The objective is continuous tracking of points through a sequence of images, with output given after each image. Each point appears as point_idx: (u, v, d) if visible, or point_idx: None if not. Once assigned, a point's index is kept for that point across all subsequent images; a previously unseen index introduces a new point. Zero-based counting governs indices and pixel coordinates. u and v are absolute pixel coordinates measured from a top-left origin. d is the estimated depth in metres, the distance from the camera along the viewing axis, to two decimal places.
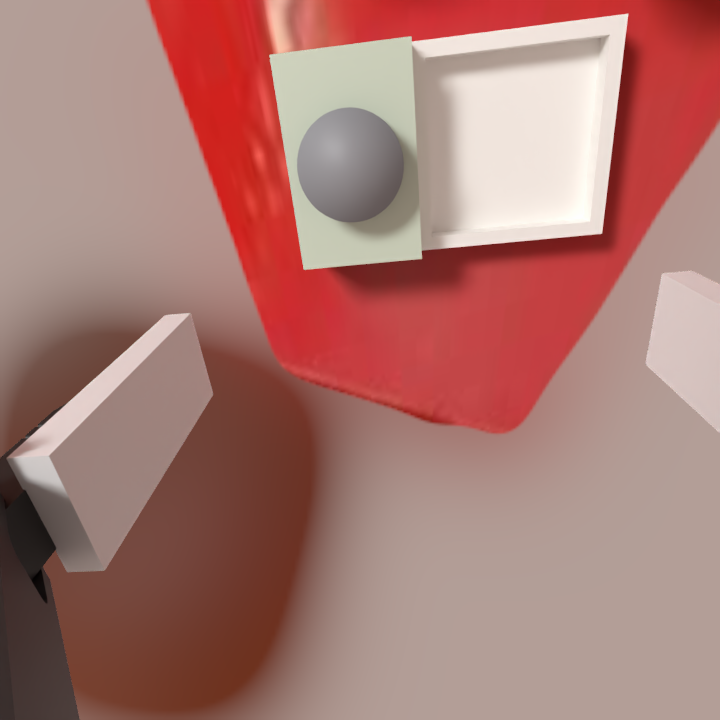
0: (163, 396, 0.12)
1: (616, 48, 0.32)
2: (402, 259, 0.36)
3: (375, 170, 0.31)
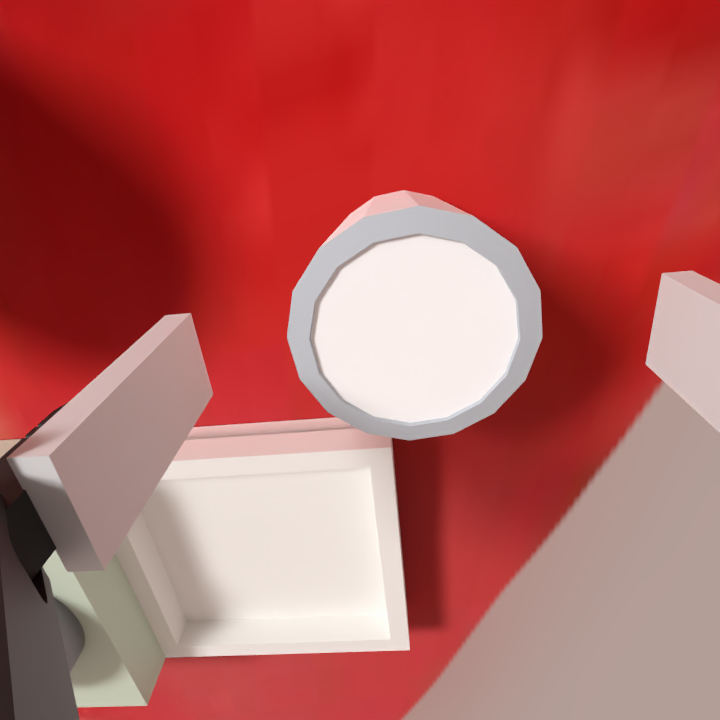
0: (163, 396, 0.12)
1: (383, 481, 0.21)
2: (120, 705, 0.25)
3: None
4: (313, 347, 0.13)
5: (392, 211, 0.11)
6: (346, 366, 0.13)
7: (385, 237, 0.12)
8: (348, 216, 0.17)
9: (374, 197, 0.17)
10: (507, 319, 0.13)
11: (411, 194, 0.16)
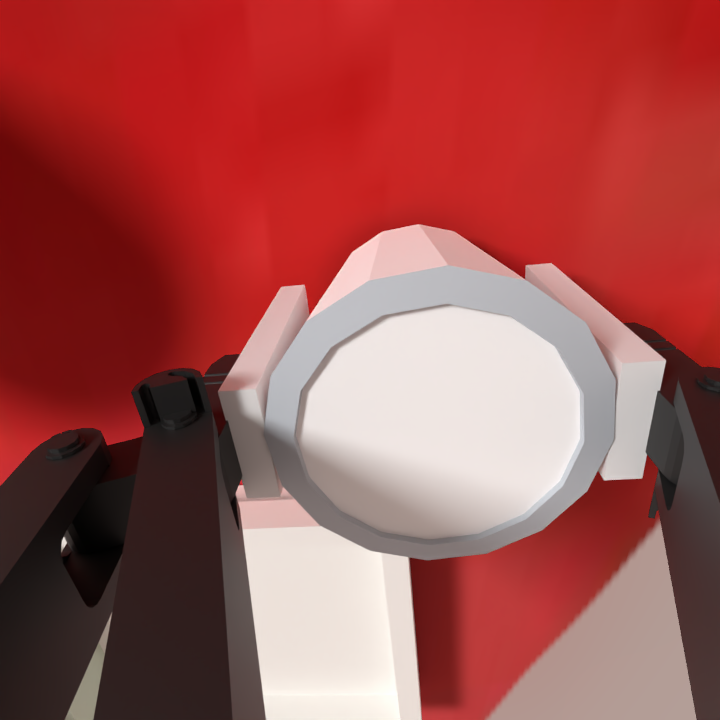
0: None
1: (395, 559, 0.18)
2: None
3: None
4: (299, 447, 0.10)
5: (409, 272, 0.08)
6: (344, 471, 0.10)
7: (399, 308, 0.08)
8: (349, 257, 0.14)
9: (381, 233, 0.14)
10: (567, 416, 0.09)
11: (429, 233, 0.12)
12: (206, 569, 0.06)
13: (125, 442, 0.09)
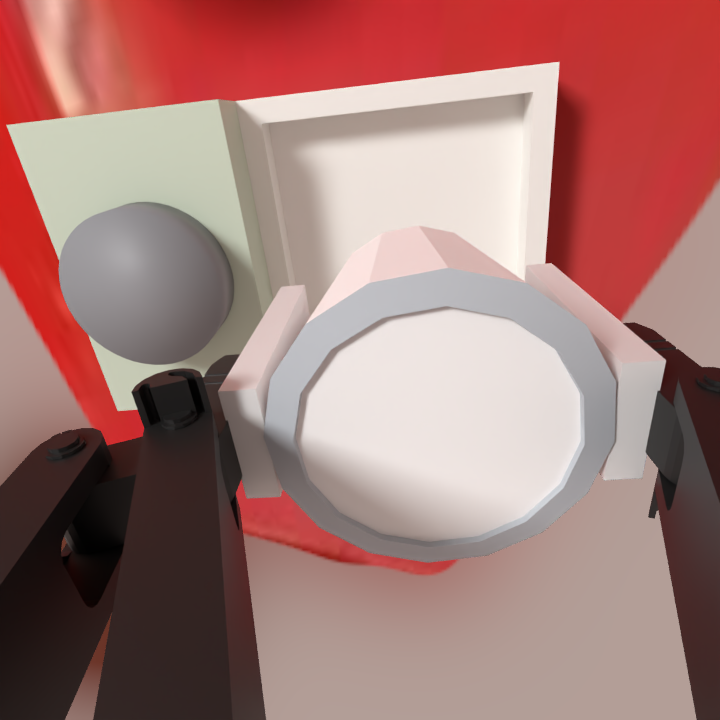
0: None
1: (544, 112, 0.21)
2: None
3: (178, 296, 0.21)
4: (299, 450, 0.10)
5: (409, 275, 0.08)
6: (344, 473, 0.10)
7: (399, 310, 0.08)
8: (349, 259, 0.14)
9: (381, 235, 0.14)
10: (567, 418, 0.09)
11: (429, 234, 0.12)
12: (205, 569, 0.06)
13: (125, 442, 0.09)
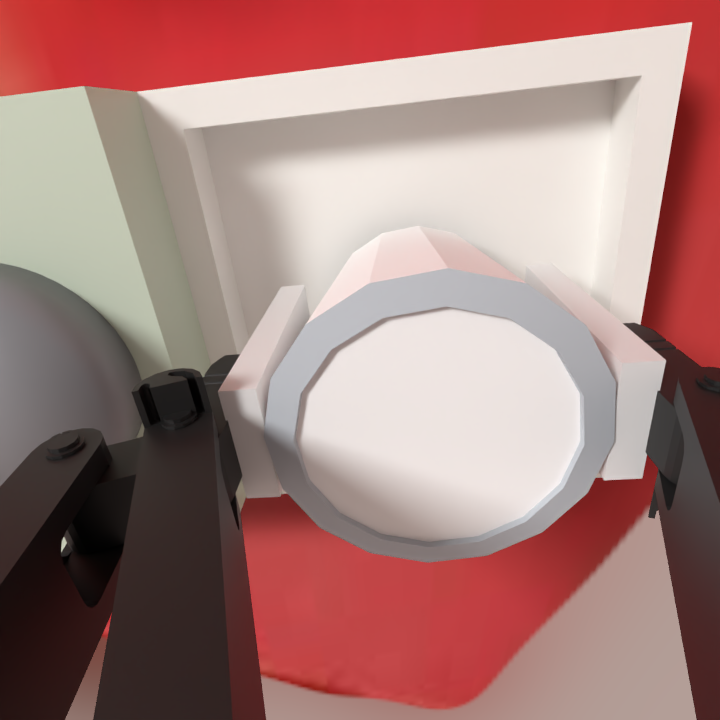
0: None
1: (657, 110, 0.12)
2: None
3: (36, 424, 0.12)
4: (299, 450, 0.10)
5: (409, 275, 0.08)
6: (344, 473, 0.10)
7: (399, 310, 0.08)
8: (349, 259, 0.14)
9: (381, 235, 0.14)
10: (567, 418, 0.09)
11: (429, 235, 0.12)
12: (206, 570, 0.06)
13: (125, 441, 0.09)
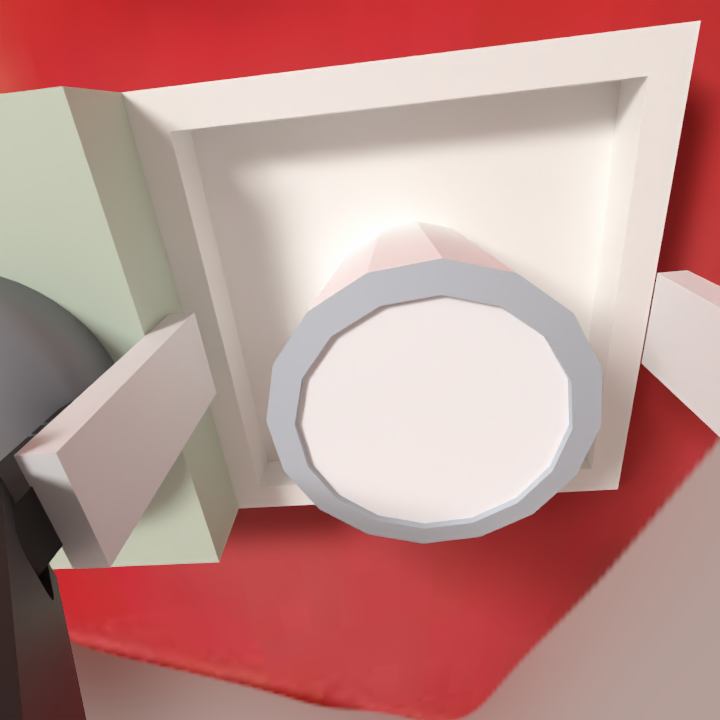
0: (167, 395, 0.12)
1: (664, 112, 0.12)
2: (176, 562, 0.16)
3: (15, 440, 0.12)
4: (300, 433, 0.10)
5: (406, 265, 0.08)
6: (343, 456, 0.10)
7: (396, 299, 0.09)
8: (348, 252, 0.14)
9: (380, 229, 0.14)
10: (556, 403, 0.09)
11: (426, 229, 0.13)
12: None
13: None
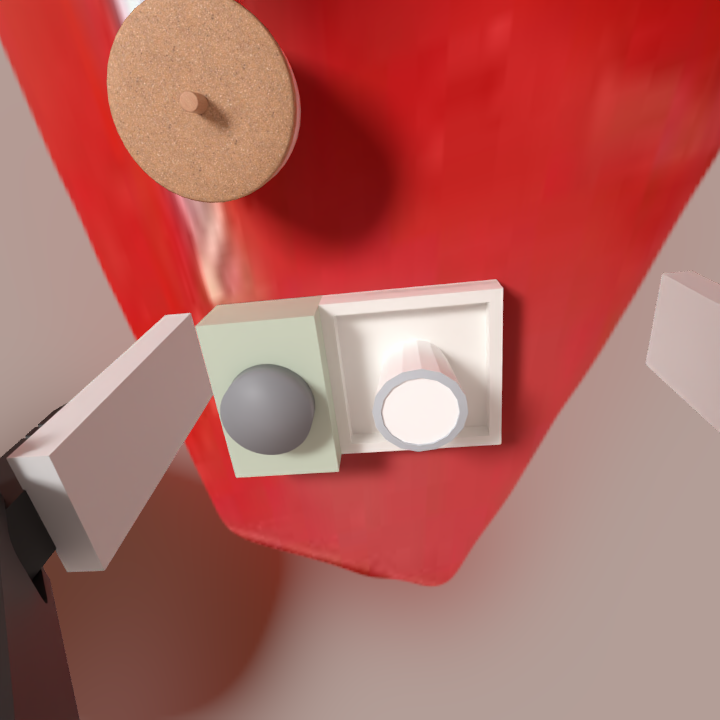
0: (163, 396, 0.12)
1: (496, 312, 0.36)
2: (321, 471, 0.41)
3: (287, 419, 0.36)
4: (382, 415, 0.35)
5: (412, 370, 0.33)
6: (394, 422, 0.35)
7: (409, 378, 0.33)
8: (391, 352, 0.39)
9: (403, 343, 0.39)
10: (454, 406, 0.34)
11: (419, 347, 0.37)
12: None
13: None
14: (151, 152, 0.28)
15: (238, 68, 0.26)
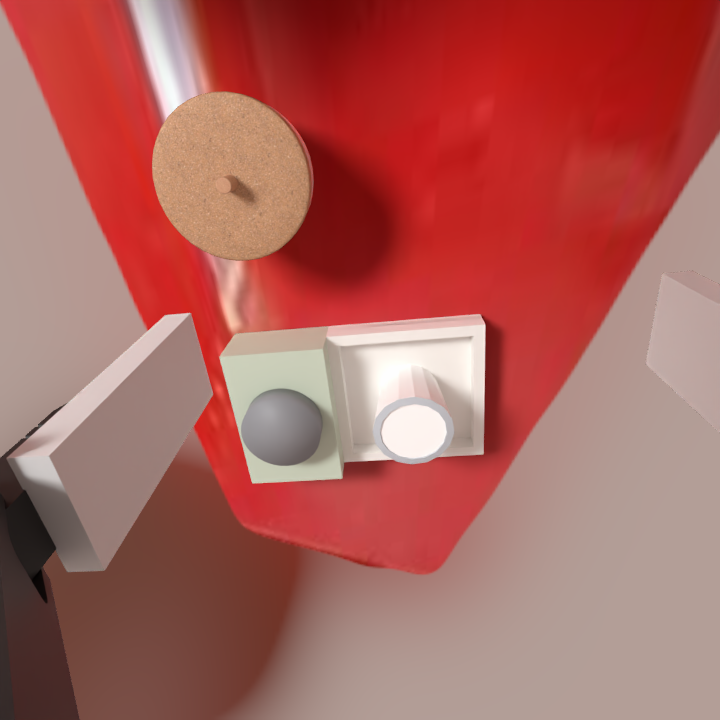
0: (163, 396, 0.12)
1: (479, 344, 0.42)
2: (327, 478, 0.47)
3: (299, 436, 0.42)
4: (380, 434, 0.41)
5: (407, 397, 0.39)
6: (391, 440, 0.41)
7: (404, 404, 0.39)
8: (388, 376, 0.45)
9: (398, 368, 0.45)
10: (442, 427, 0.40)
11: (413, 374, 0.43)
12: None
13: None
14: (188, 220, 0.33)
15: (264, 156, 0.31)
